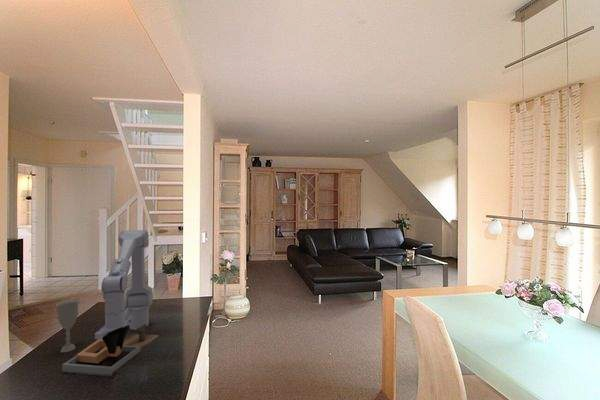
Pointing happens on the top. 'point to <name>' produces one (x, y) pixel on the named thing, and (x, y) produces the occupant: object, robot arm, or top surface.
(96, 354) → the tan flat frame
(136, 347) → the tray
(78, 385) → the top surface
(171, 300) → the top surface
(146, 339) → the tan wooden piece
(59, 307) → the chalice
